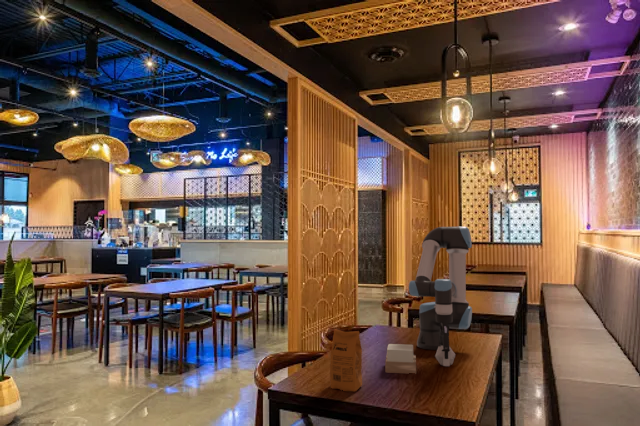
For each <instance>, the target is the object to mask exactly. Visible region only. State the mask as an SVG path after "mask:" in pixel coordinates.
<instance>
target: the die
mask: <svg viewBox="0 0 640 426" xmlns="http://www.w3.org/2000/svg"><path fill="white" fill-rule="evenodd" d="M449 349H450V351H449V359H450V366H451V365H453V363H454V360H455V358H456V353H455V351H453V349H452V348H451V346H450V345H449ZM442 350H443V346H438V349H437V350H436V353H435V355H434V357H435V359H436V361H438V363H439V364H440V366H443V351H442Z"/></svg>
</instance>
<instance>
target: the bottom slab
mask: <svg viewBox="0 0 640 426" xmlns="http://www.w3.org/2000/svg"><path fill="white" fill-rule="evenodd" d="M385 356H386V357H385V363H384V364H385V365H384V366H385V367H384V368H385V373H387V374H388V373H391V374H409V373H415V374H414V375H417V357H416V356H417V355H416V354H413V362H390V361H387V354H386V355H385Z"/></svg>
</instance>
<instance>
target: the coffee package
mask: <svg viewBox="0 0 640 426" xmlns="http://www.w3.org/2000/svg"><path fill="white" fill-rule="evenodd" d="M360 334H361V333H360V331H359V330H357V331H343V330H339V329H336V328H335V329H333V335H332V342H331V350H330V367H329V380H330V384H329V385H330V386H329V387H330V389H331V388H332V389H331V390H334V389H336V390H340V391H342V390H343V391H342V392H357V391H358V390H359V389H360V387H362V386H363V376H362V369H363V366H362V363H363V361H362V360H363V359H362V356H363V355H362V354H363V349H362V343H361V338H360Z"/></svg>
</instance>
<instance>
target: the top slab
mask: <svg viewBox="0 0 640 426" xmlns="http://www.w3.org/2000/svg"><path fill="white" fill-rule="evenodd" d="M386 355H387V361H390V362H413V355H414V344H403V343H402V344H401V343H400V344H399V343H388V345H387V349H386Z"/></svg>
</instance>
